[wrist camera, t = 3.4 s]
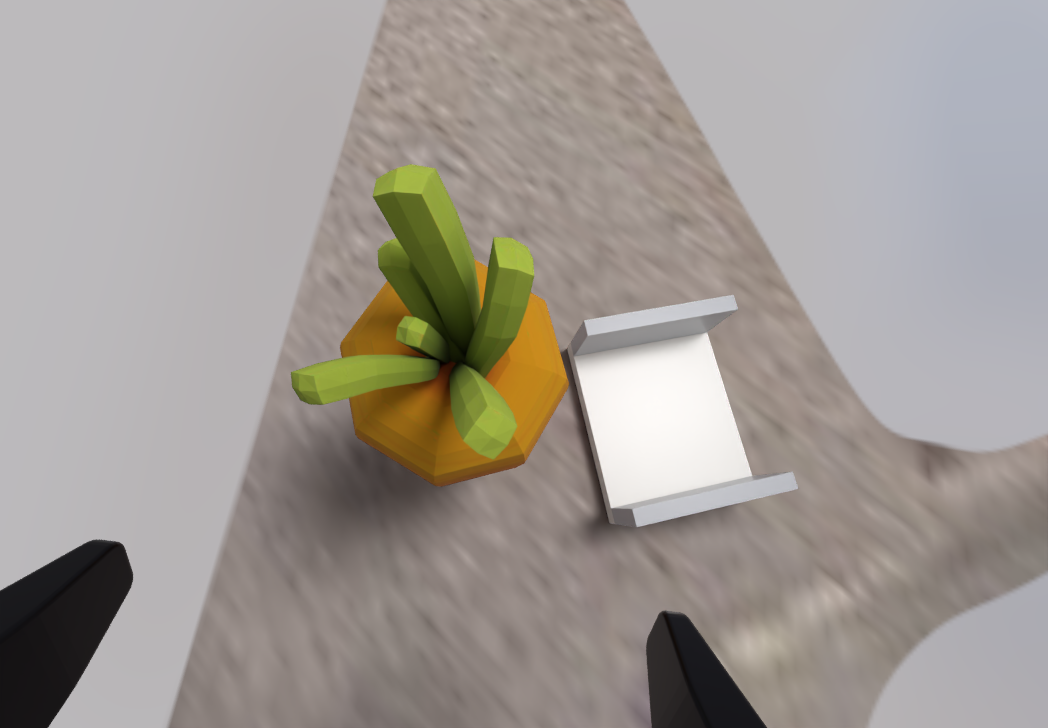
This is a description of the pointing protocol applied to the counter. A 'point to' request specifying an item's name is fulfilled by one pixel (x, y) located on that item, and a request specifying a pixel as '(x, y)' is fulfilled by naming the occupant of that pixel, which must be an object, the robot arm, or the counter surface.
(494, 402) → the carrot
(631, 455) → the white railed tray
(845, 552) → the counter surface
